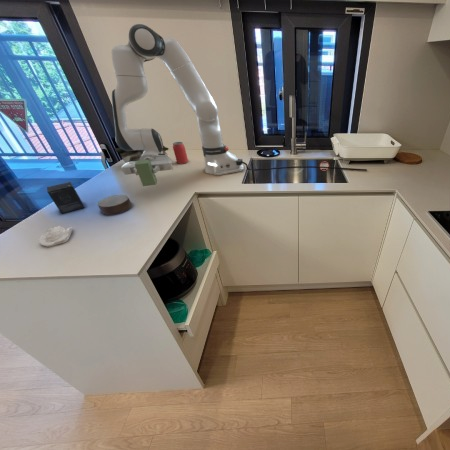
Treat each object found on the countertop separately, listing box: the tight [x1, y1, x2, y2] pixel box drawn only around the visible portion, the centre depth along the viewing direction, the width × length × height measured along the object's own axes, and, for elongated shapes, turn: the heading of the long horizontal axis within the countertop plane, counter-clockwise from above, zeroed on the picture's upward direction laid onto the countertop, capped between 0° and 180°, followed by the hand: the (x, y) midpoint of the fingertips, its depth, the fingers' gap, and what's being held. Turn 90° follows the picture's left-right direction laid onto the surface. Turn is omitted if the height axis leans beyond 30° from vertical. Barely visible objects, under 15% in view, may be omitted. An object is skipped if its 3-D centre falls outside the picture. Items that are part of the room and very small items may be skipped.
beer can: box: [172, 141, 189, 165], centre depth 150 cm, size 7×7×12 cm
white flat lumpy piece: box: [38, 225, 73, 248], centre depth 85 cm, size 10×4×10 cm
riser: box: [97, 194, 133, 216], centre depth 103 cm, size 11×11×4 cm
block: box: [135, 159, 158, 187], centre depth 106 cm, size 5×5×10 cm
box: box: [46, 181, 85, 214], centre depth 101 cm, size 8×6×11 cm
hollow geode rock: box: [114, 145, 170, 164], centre depth 145 cm, size 28×13×15 cm
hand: (145, 172), depth 105 cm, fingers closed on block, 5 cm apart
